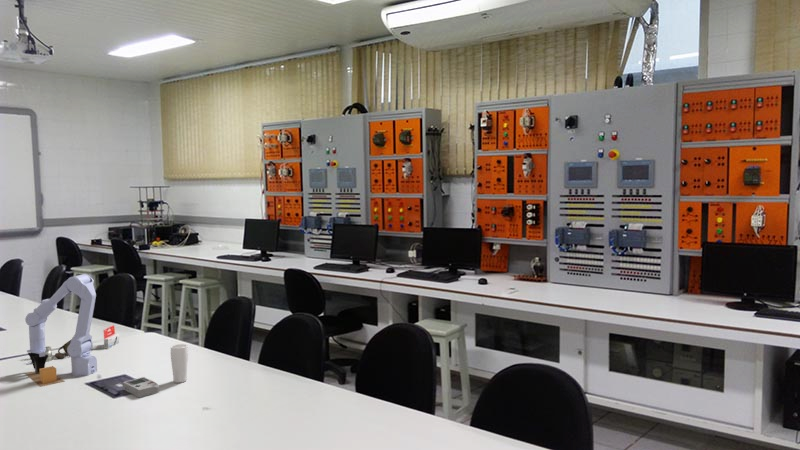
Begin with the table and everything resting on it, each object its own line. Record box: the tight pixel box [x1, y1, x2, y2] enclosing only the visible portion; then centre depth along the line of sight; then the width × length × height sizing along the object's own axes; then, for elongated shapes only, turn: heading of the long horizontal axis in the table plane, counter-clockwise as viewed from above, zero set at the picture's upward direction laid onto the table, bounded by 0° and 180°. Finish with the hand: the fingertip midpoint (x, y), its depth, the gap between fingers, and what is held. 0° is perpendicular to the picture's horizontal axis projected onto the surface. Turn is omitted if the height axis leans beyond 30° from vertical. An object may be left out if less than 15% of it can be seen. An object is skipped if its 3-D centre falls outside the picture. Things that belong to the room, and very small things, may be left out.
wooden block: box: [25, 363, 66, 388], centre depth 248 cm, size 24×9×7 cm, turn 45°
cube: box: [39, 365, 58, 383], centre depth 245 cm, size 5×5×5 cm
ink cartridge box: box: [102, 325, 120, 350], centre depth 302 cm, size 2×11×10 cm, turn 179°
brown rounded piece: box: [54, 339, 71, 360], centre depth 286 cm, size 7×13×10 cm
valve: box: [45, 346, 53, 363], centre depth 279 cm, size 7×7×12 cm
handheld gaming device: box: [122, 376, 160, 398], centre depth 235 cm, size 9×14×4 cm, turn 48°
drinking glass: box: [170, 343, 189, 384], centre depth 246 cm, size 7×7×15 cm
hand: (38, 369), depth 255 cm, fingers open, 6 cm apart
